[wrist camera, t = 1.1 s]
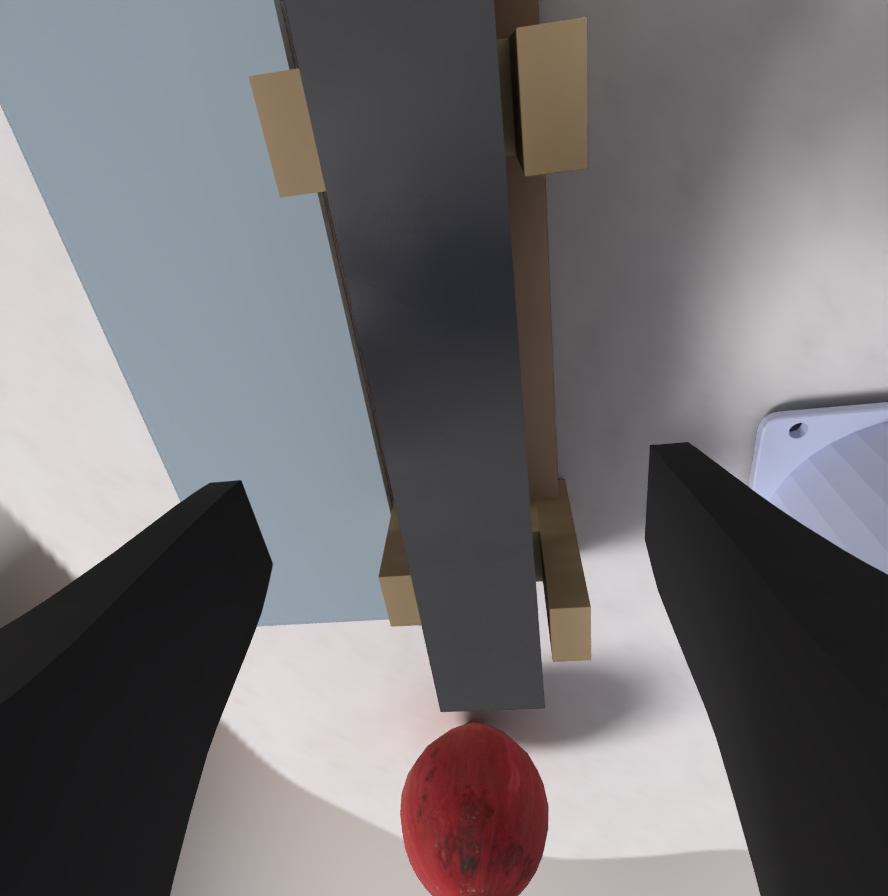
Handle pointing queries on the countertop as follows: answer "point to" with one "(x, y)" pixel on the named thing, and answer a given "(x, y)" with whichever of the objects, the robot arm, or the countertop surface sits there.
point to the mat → (208, 272)
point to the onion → (474, 814)
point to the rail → (434, 315)
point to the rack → (527, 161)
